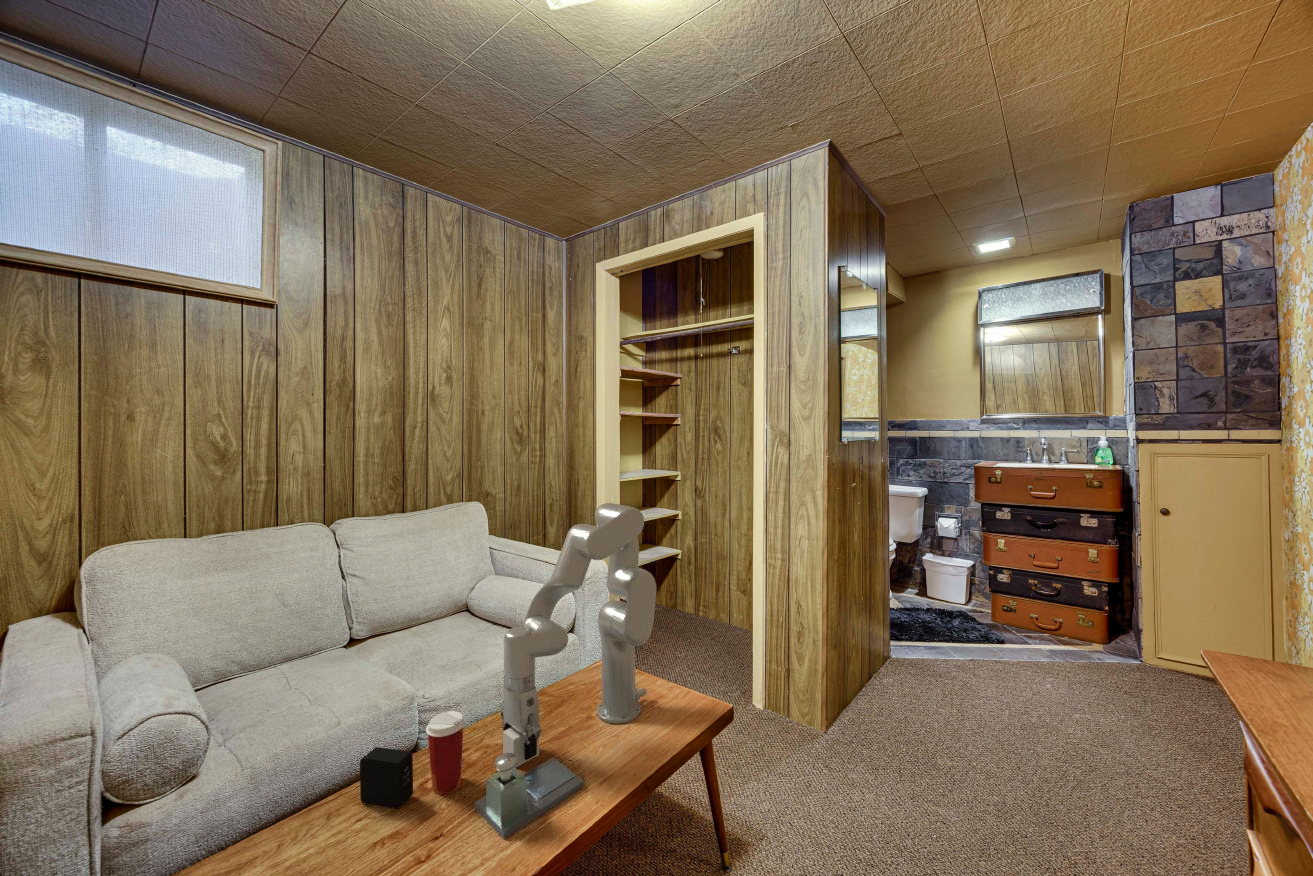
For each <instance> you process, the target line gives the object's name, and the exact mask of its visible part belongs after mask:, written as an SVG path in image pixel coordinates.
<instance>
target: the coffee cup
mask: <svg viewBox="0 0 1313 876" xmlns="http://www.w3.org/2000/svg"><path fill="white" fill-rule="evenodd" d="M465 720H466V719H465V718H464V717H463V714H462V713H461V712H459V711H453V710H452V711H444V712H441V713H439V714H436V715H434V716H433V717H432V718H431V719H430V720H429V722H428V724H427V726H426V728H425V733H426V734H427V739H428V751H429V752H428V753H429V762H430V763H429V764H430V765H429V766H430V776H431V778H430V779H431V787H432V791H433V792H434V793H435V794H437V795H444V794H449V793H451V792H453V791H454V790H456V789H458V788H459V786H460V784H461V782H462V780H461V779H462V766H463V765H462V763H463V743H464V741H463V740H464V726H465V723H466V721H465Z"/></svg>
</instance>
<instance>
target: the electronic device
mask: <svg viewBox="0 0 1313 876" xmlns="http://www.w3.org/2000/svg"><path fill="white" fill-rule="evenodd" d="M413 757H414V756H413V753H412V752H411V751H409V750H403V749H394V748H386V747H381V746H379V747H378V746H377V747H375V748H373V749H370V750H369V751H368V753H367V754H364V755H363V757H362V758H360V761H359V783H360V785H359V786H360V788H359V789H360V797H359V798H360V802H361V803H362V804H363V803H366V804H365V805H368V804H370V805H369V806H374V805H375V806H374V807H380V806H381V807H382V808H388V809H395V810H399V809H400V808H401V807H403V805H404V804H405V803H406V802H407V801H408V800H409V799H410V797H412V796H413V795H414V773H413V772H414V763H413V759H414V758H413Z"/></svg>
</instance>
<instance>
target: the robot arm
mask: <svg viewBox="0 0 1313 876" xmlns="http://www.w3.org/2000/svg"><path fill="white" fill-rule="evenodd" d="M594 518H595V522H596V525H597V526H595V525H591V524H588V523H578V524H574V525H572V526H571V528H570V529H569V530H568V532H567V534H566V537H565V539H564V542H563V545H562V547H561V550H560V553H559V555H558V559H557V561H556V564H555V566H554V570H553V572H552V574H551V577H550V578H549V579H548V580H547V581H546V582H545V583H544V584H543V585H542V586H541V588H540V589H539V590H538V591H537V592H536V594H535V595H534V597H533V598H532V600H531V603H530V605H529V608H528V610H527V612H526V615H525V618H524V621H523V625H522V626H516V627H512V628H510V629H508V630H507V631H506V632H505V633H504V636H503V695H502V702H499V707H500V711H501V712H500V713H501V714H500V716H501V718H502V722H501V723H502V724H501V725H502V726H503V727H502V732H503V731H505V730H507V729H509V728H511V727H513V728H515V729H516V730H517V731H519V732H521V733H523V735H524V738H525V741H526V742H525V743H524V759H525V760H528V759H530V758H531V757H533V756H535V755H536V754H537V740H538V738H539V739H540V736H541V732H542V726H541V725H540V705H539V697H538V691H537V687H536V658H540V657H549V656H550V657H551V656H554V655H557V654H559V653H561V652H562V651H564V649H566V647H567V645H568V643H569V635H568V632H567V630H566V629H565V628H564V627H563V626H562V625H560V624H559V623H557V622H555V621H553V620H552V619H551V617H552V615H553V612H554V609H555V608H556V606H557V604H558V602H559V601H560V600H562V598H563V597H565V596H566V595H568V594H570V593H574V592H575V591H578V590H580V589H581V588H582V587H583V585H584V581H585V579H586V576H587V574H588V569H589V568H590V564H591V563H592V562H591V561H592V560H593V561H601V560H605V559H607V558H609V559H608V567H607V575H606V577H607V578H606V587H607V590H608V592H609V593H610V594H611V595H613V596H615V597H617V598H618V599H622V600H624V601H626V602H624V601H621V600H616V599H614V600H608V601H607V602H605V603H604V604H603V605H602V606H601V607H600V609H599V612H598V615H597V617H598V618H597V625H598V631H599V636H600V643H601V690H602V691H601V693H602V694H601V696H602V698H601V702H600V703H599V704H598V706H597V708H596V712H597V714H596V715H597V717H598V718H599V719H600V720H601V721H603V722H605V723H609V724H625V723H629V722H632V721H633V720H635V719H637V718H639V716H640V715H641V712H642V707H641V703H640V702H639V700H640V698H641V697H643V696H645V695H648V694H647V693H648V691H647V689H646V687H642V688H640V689H639V690H638V688H637V687H636V659H635V658H636V651H635V650H636V648H635V647H638V646H642V645H644V644H645V643H646V642H648V640H649V638H650V636H651V634H652V631H653V628H654V622H655V621H654V620H655V612H656V601H657V583H656V579H655V577H654V576H653V574H652V573H651V572H649V571H648V570H646V569H644V568H640V567H639V566H640V565H639V559H640V557H639V556H640V544H639V539H638V536H639V535H640V534H641V532H642V531H643V529H644V527H645V518H644V515H643V513H642V511H641V510H640V509H639V508H637V507H634V506H630V505H623V504H619V503H618V504H617V503H609V502H608V503H602V504H600V505H598V507H597V508H596V509H595V514H594ZM529 724H530V727H529V728H527V726H528V725H529ZM526 728H527V729H526ZM530 730H531V731H532V735H531V736H530V737H529V736H528V733H527V732H528V731H530Z"/></svg>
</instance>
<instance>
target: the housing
mask: <svg viewBox="0 0 1313 876" xmlns="http://www.w3.org/2000/svg"><path fill="white" fill-rule="evenodd" d="M529 727H530V724H529V725H528V726H527V728H529ZM527 728H526V729H527ZM527 733H528V736H529V737H530V736H531V735H532V731H531V730H530V731H528V732H527ZM525 742H526V741H525V738H524V735H523V733H521V732H519V731H517V730H516V729H515V728H513V727H511V728H509V729H507V730H505V731H503V730H502V744H503V745H502V747H503V748H502V749H503V750H502V752H503V753H502V754H505V753H513V754H515V755H516V756H517V764H516V766H515V768H516V769H517V768H518V767H520V766H522V765H523V764H525V763H528V762H529V761H531V760H532V759H534V758H536V757H538V756H540V737H539V738H538V740H537V754H536V755H535V756H533V757H531V758H530V759H528V760H525V759H524V743H525Z"/></svg>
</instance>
